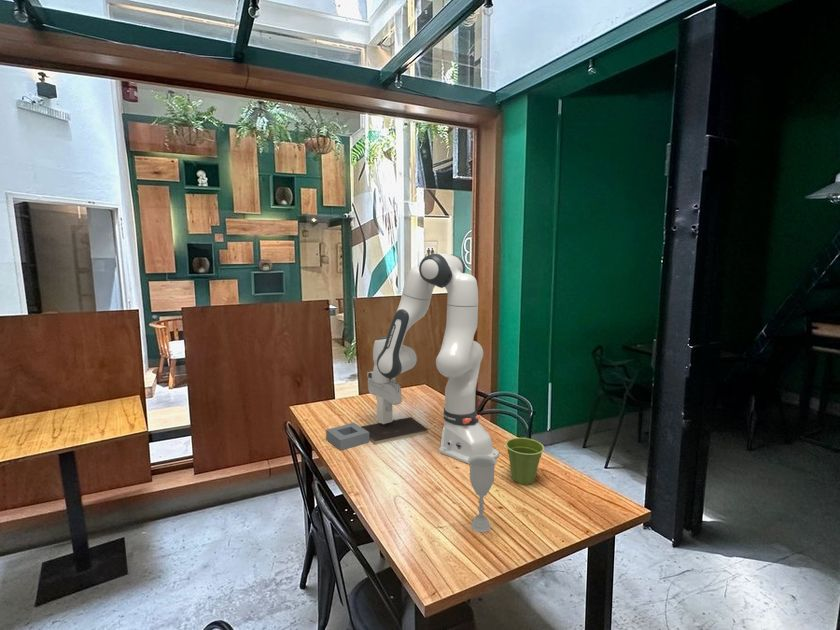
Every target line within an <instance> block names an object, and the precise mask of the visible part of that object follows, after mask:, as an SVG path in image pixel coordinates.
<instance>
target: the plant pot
mask: <svg viewBox="0 0 840 630" xmlns="http://www.w3.org/2000/svg"><path fill="white" fill-rule="evenodd" d="M505 447H506V449H507V454H508V459H509V467H510V475H511V476H510V477H511V479H512V480H513V481H514V482H516V483H517V484H520V485H531V484H532V483H534V482H535V481H536V478H537V477H536V475H537V471H538V468H539V463H540V459H541V457H542V453H543V452H544V451H545V446H544V445H543V444H542V443H541V442H540V441H537V440H535V439H532V438H528V437H527V438H526V437H513V438H509V439H508V440H507V441H506V442H505Z"/></svg>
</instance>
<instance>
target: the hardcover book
mask: <svg viewBox="0 0 840 630" xmlns="http://www.w3.org/2000/svg"><path fill="white" fill-rule="evenodd" d="M360 427H362V428H363V429H365V430H367V431H368V432H369V441H371V442H372V443H373V444H374V445H378V444H379V445H380V444H384V443H388V442H394V441H399V440H403V439H407V438H412V437H416V436H422V435H427V434H429V433H428V432H429V429H428V428H427V427H426V426H425V425H423V424H421V422H419V421H418V420H416V419H415V418H414V417H412V416H409V417H403V418H399V419H392V422H390V423H386V424H382V423H380V422H377V423H372V424H365V425H362V426H360Z"/></svg>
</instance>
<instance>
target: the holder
mask: <svg viewBox="0 0 840 630" xmlns="http://www.w3.org/2000/svg"><path fill="white" fill-rule="evenodd" d="M325 440H326V441H327V442H329V444H331V445H332V446H334V447H335V448H336V447H337V450H339V449H340V450H342V451H345V450H348V449H351V448H355V447H358V446H361V445H366V444H368V443H370V439H369V432H368V431H367V430H365V429H363V428H362V427H361V426H360V425H358V424H357V423H356V422H351V423H347V424H344V425H339V426H335V427H332V428H327V429H325ZM344 449H345V450H344ZM340 450H339V451H340Z"/></svg>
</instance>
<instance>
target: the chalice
mask: <svg viewBox="0 0 840 630" xmlns="http://www.w3.org/2000/svg"><path fill="white" fill-rule="evenodd" d="M468 462H469V464H468V465H469V481H470V483H471V486H472V488H473V490H474V493H475V495H477V496H479V498H478V501H477V502H478V504H479V506H478V507H477V510H478V514H477V515H475V516H474V518H473V520H472V522H471V524H470V527H471V529H472V530H473V531H475V532H477V533H486V532H489V531H490V530H491V524H490V522H489V519H488V517H487V516H486V515H484V511H485V510H486V509H485V507H484V504H485V500H484V497H486V496H487V495H488V493H489V492H490V490H491V488H492V486H493V484H494V481H495V467H496V464H497V458H493V457H491V456H487V455H474V456H471V457H469V459H468Z"/></svg>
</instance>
